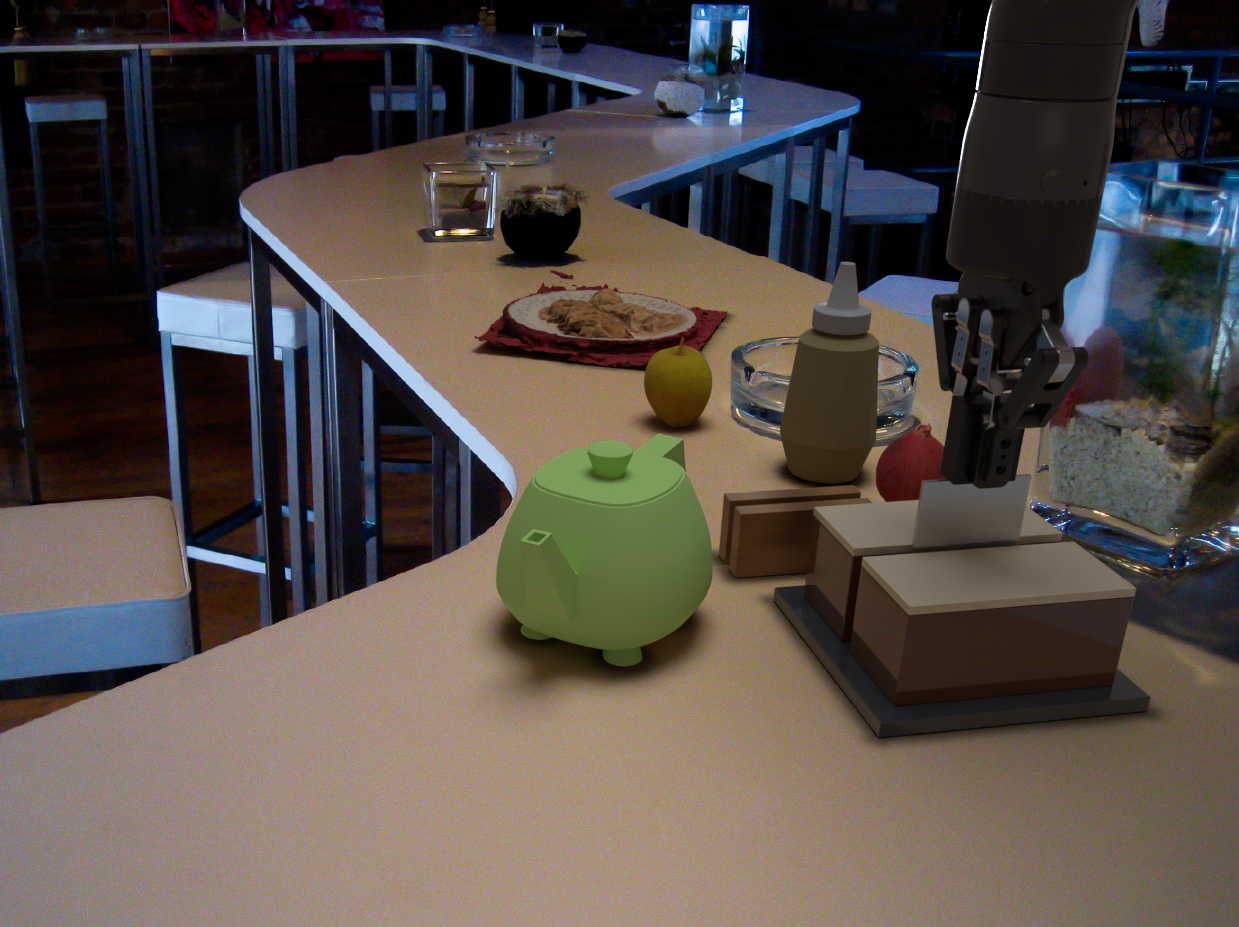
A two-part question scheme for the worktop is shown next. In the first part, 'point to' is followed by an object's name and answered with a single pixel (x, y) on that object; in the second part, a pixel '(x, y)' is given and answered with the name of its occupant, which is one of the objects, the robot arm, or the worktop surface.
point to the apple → (678, 384)
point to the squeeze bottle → (833, 389)
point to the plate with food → (600, 324)
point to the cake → (961, 624)
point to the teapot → (607, 548)
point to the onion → (909, 464)
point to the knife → (968, 493)
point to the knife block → (774, 527)
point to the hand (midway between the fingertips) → (977, 476)
